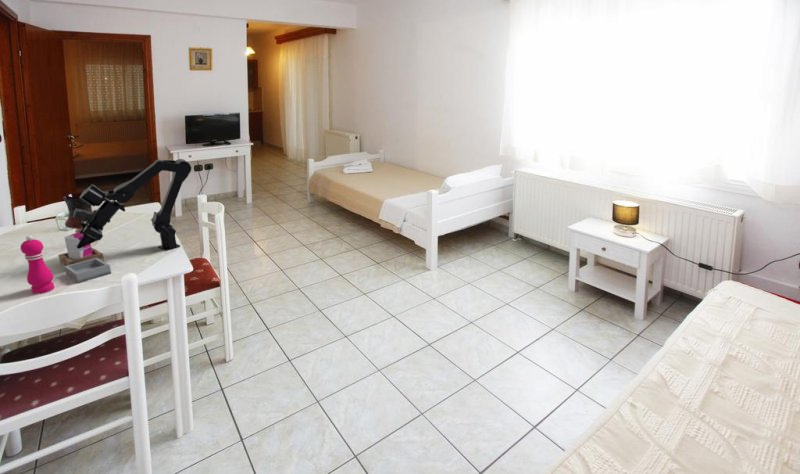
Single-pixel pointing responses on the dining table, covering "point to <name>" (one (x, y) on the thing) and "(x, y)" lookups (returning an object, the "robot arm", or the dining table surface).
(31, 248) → the pepper mill
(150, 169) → the robot arm
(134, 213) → the dining table surface
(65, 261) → the holder
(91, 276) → the tray
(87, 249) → the supplement box
